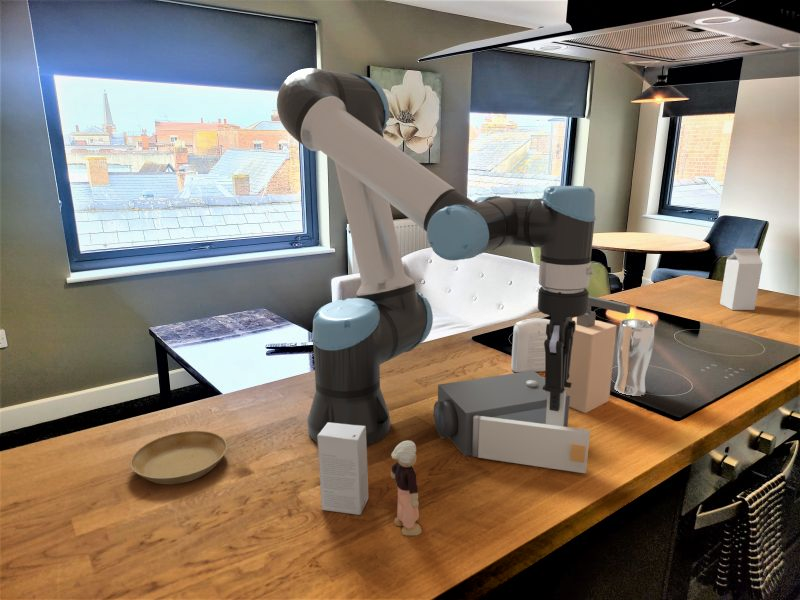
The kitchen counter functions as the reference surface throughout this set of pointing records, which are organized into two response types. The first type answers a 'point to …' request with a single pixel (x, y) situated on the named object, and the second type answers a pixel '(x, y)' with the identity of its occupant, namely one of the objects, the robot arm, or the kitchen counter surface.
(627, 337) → the beer glass
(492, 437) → the side door
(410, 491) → the grandmother figurine
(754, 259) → the milk carton
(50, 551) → the kitchen counter surface
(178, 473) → the plant saucer
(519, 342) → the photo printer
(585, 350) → the soap dispenser
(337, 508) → the skincare box
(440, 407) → the camera housing
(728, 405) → the kitchen counter surface
